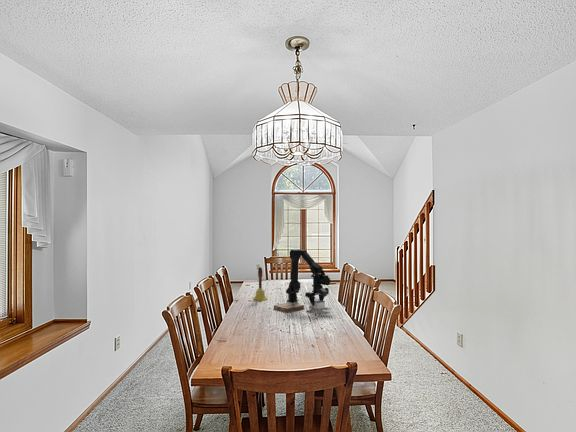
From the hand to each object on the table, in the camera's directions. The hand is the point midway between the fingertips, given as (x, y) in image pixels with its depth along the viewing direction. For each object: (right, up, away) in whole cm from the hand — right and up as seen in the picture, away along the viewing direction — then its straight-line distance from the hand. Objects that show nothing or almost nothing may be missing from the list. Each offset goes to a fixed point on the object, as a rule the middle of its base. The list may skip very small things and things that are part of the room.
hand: (317, 305), depth 280 cm
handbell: (-42, -1, +26) cm, 50 cm away
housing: (0, -1, 0) cm, 1 cm away
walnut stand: (-20, -1, -6) cm, 21 cm away
